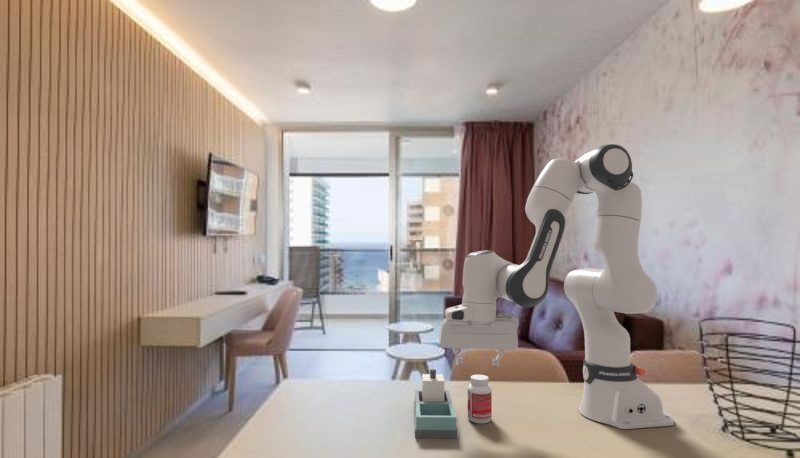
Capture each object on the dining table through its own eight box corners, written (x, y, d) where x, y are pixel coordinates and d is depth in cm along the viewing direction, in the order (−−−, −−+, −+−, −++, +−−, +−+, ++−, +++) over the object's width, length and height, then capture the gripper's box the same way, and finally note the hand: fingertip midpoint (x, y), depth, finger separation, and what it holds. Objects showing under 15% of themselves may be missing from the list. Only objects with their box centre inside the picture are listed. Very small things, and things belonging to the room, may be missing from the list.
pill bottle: (496, 421, 115) (496, 378, 115) (479, 426, 112) (479, 382, 112) (479, 413, 120) (479, 371, 120) (462, 418, 117) (462, 375, 117)
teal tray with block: (449, 408, 123) (449, 365, 123) (457, 438, 105) (457, 387, 105) (413, 408, 123) (413, 364, 123) (415, 438, 105) (415, 387, 105)
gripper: (515, 311, 119) (514, 363, 119) (439, 309, 120) (438, 361, 119) (521, 315, 113) (520, 370, 113) (441, 313, 113) (440, 367, 113)
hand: (477, 365), depth 116 cm, fingers open, 8 cm apart
